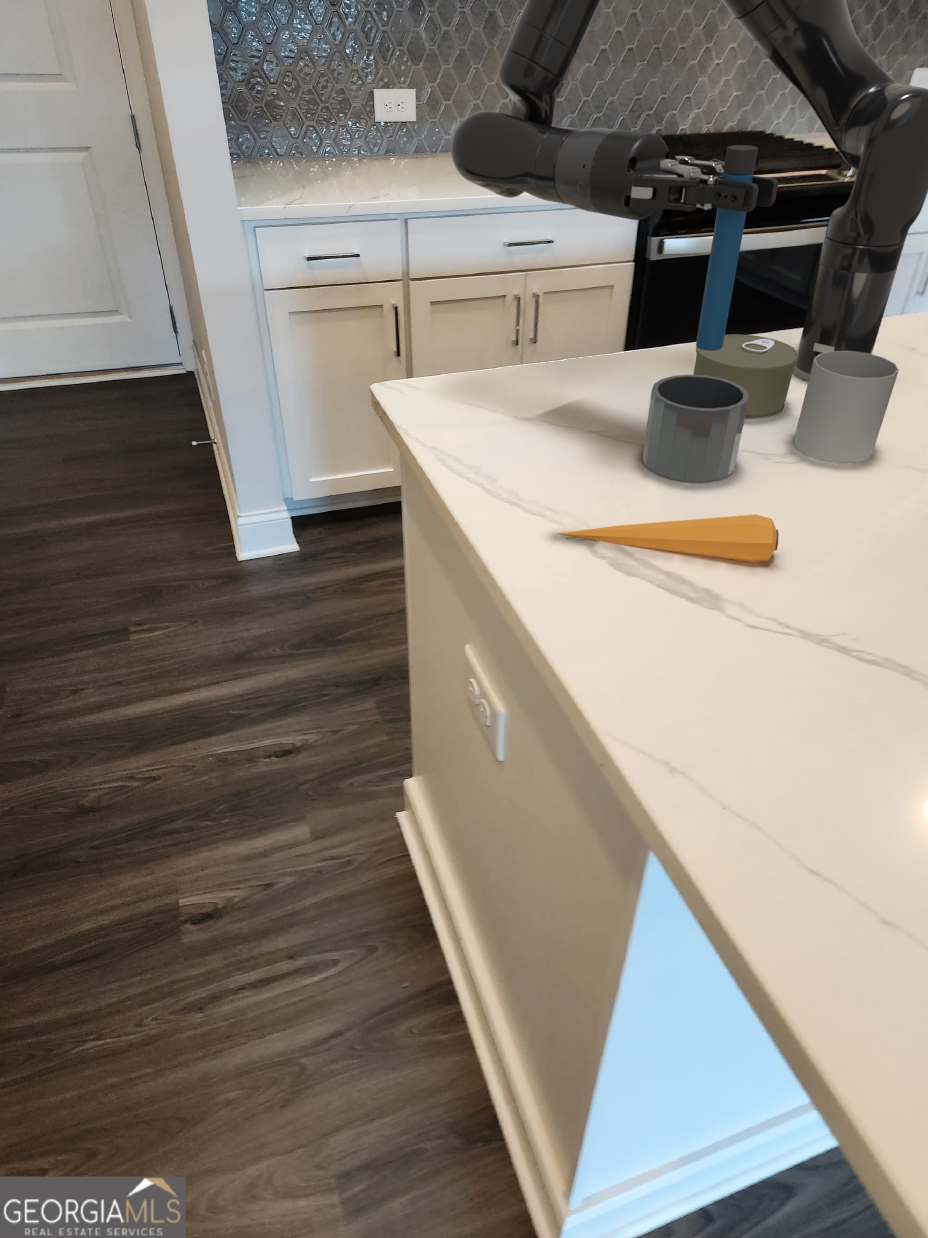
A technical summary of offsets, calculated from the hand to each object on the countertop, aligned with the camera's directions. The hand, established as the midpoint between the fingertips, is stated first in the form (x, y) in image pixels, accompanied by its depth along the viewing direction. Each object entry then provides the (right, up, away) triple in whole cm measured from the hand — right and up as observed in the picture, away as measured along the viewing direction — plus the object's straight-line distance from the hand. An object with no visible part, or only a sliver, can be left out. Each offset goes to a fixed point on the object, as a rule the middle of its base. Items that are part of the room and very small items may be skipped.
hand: (764, 195), depth 73 cm
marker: (-2, -10, +10) cm, 14 cm away
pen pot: (-2, -20, +19) cm, 27 cm away
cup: (+15, -18, +21) cm, 32 cm away
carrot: (-8, -31, +5) cm, 32 cm away
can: (+8, -10, +32) cm, 35 cm away
